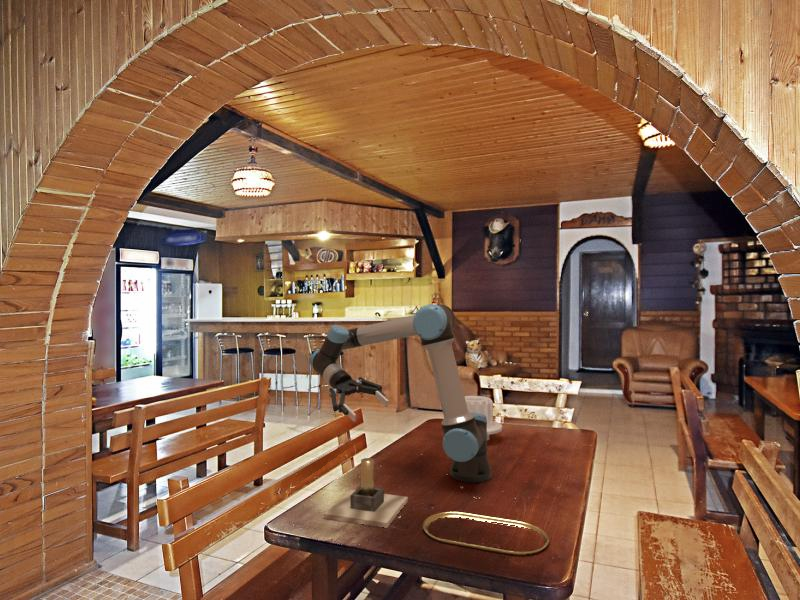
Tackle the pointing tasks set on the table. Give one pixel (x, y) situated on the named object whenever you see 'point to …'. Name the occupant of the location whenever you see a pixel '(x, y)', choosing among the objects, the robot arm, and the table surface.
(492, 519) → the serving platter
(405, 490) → the table surface
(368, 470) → the brass post
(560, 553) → the table surface
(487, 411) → the flanged gear
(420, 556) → the table surface
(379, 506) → the socket board
